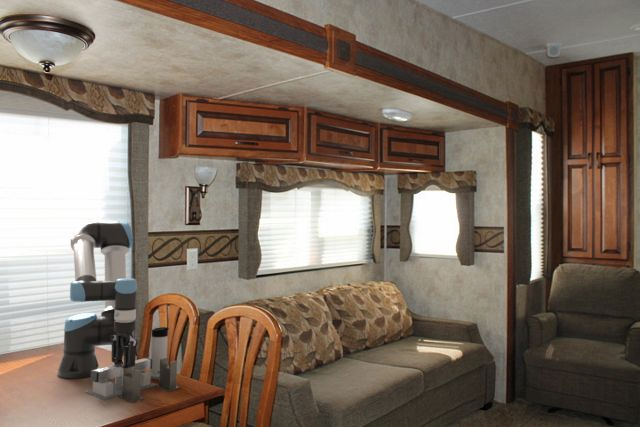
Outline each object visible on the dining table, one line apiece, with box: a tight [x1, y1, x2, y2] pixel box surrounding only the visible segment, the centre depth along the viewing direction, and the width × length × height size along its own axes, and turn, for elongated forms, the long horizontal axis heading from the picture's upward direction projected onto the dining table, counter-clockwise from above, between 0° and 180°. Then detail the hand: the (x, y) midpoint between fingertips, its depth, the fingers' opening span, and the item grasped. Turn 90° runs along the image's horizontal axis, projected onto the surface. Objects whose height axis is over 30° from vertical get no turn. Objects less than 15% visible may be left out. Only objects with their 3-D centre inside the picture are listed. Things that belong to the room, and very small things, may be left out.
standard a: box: [117, 366, 145, 404], centre depth 194 cm, size 8×5×10 cm, turn 54°
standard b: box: [154, 357, 181, 393], centre depth 207 cm, size 8×5×10 cm, turn 54°
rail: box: [90, 357, 152, 383], centre depth 204 cm, size 4×24×4 cm, turn 145°
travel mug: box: [149, 326, 169, 380], centre depth 220 cm, size 6×7×20 cm
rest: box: [85, 370, 158, 401], centre depth 204 cm, size 12×22×5 cm, turn 144°
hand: (122, 383), depth 204 cm, fingers closed on rail, 3 cm apart
